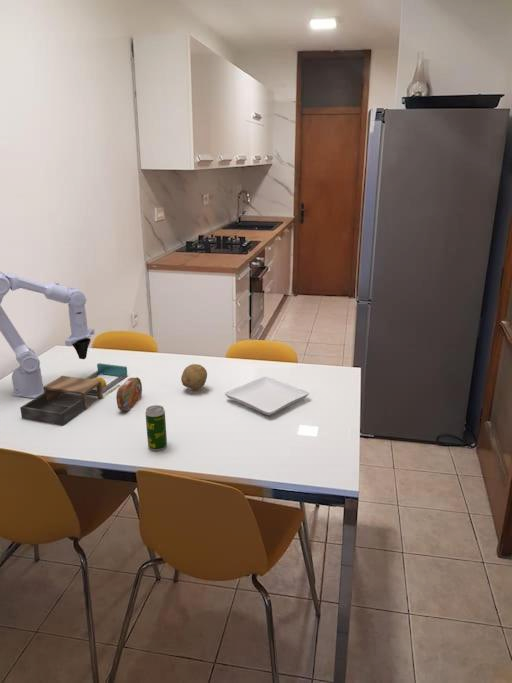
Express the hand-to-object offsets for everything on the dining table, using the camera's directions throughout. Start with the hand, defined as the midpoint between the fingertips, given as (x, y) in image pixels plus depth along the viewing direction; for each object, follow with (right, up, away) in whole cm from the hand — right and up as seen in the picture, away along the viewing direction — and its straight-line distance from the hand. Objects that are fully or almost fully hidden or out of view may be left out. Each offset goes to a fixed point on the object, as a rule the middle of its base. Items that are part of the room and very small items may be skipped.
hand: (82, 358), depth 194 cm
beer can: (+35, -24, -42) cm, 60 cm away
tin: (+21, -15, -15) cm, 30 cm away
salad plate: (+67, -14, -13) cm, 70 cm away
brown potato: (+41, -12, -5) cm, 43 cm away
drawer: (+6, -9, +1) cm, 11 cm away
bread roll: (+4, -11, -2) cm, 12 cm away
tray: (+1, -14, -12) cm, 19 cm away
